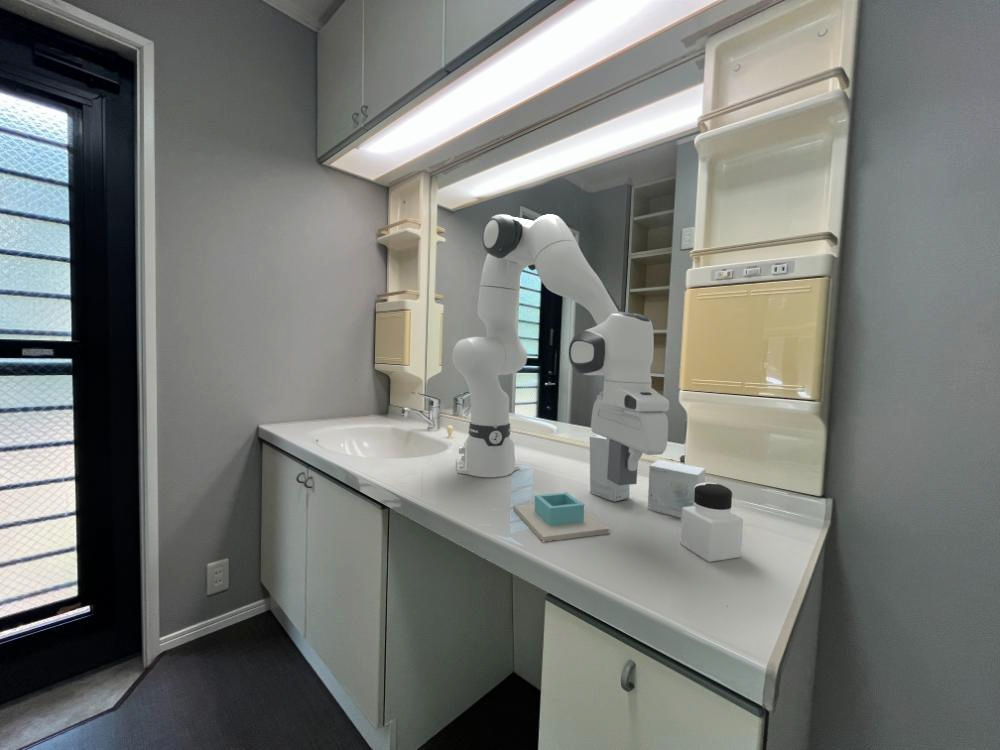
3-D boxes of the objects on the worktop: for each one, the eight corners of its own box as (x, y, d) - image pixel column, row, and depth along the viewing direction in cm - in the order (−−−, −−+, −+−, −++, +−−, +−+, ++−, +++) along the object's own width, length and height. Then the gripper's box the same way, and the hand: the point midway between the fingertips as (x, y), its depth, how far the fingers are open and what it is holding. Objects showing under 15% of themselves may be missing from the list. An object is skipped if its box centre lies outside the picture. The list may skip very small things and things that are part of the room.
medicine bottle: (741, 557, 73) (745, 490, 72) (708, 563, 71) (712, 493, 70) (710, 539, 79) (713, 478, 79) (679, 544, 77) (682, 480, 77)
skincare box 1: (629, 498, 101) (632, 438, 100) (613, 503, 98) (615, 440, 97) (603, 488, 108) (605, 432, 107) (587, 492, 105) (589, 434, 104)
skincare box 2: (646, 509, 94) (648, 464, 94) (656, 502, 99) (658, 458, 99) (695, 522, 88) (698, 473, 87) (703, 513, 92) (706, 467, 92)
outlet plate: (513, 510, 92) (514, 490, 92) (570, 504, 96) (571, 485, 96) (542, 542, 77) (543, 518, 77) (608, 533, 81) (609, 511, 81)
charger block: (607, 478, 83) (609, 432, 82) (624, 477, 84) (627, 431, 84) (618, 485, 79) (621, 436, 79) (636, 484, 81) (639, 435, 80)
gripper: (585, 389, 89) (582, 452, 90) (645, 403, 70) (640, 483, 71) (610, 389, 91) (607, 451, 92) (676, 403, 72) (671, 481, 73)
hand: (622, 465), depth 82 cm, fingers closed on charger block, 4 cm apart
